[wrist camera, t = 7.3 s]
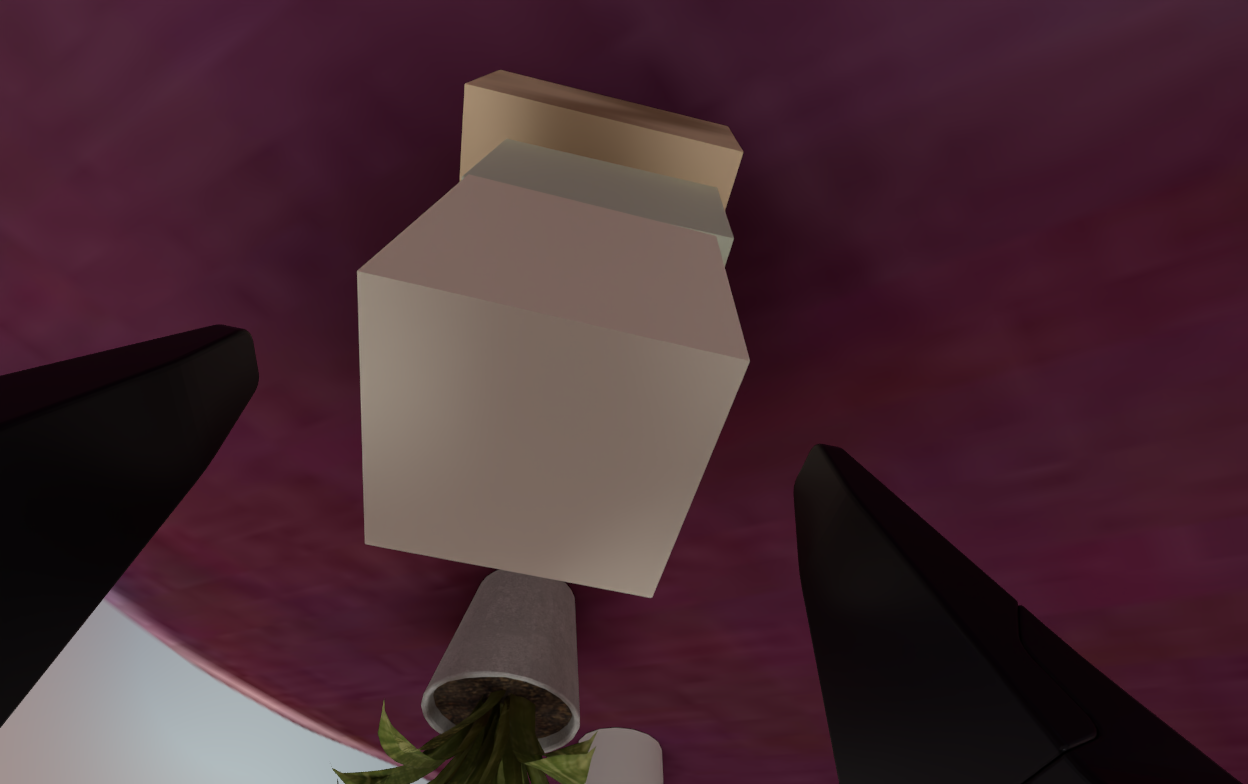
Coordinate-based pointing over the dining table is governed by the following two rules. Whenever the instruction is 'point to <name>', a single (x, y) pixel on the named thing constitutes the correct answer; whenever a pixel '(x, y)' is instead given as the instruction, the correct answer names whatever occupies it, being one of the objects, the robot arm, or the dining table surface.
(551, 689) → the house plant
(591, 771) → the white cup
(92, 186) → the dining table surface
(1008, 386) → the dining table surface
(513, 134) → the base block
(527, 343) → the cube
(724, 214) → the top block
